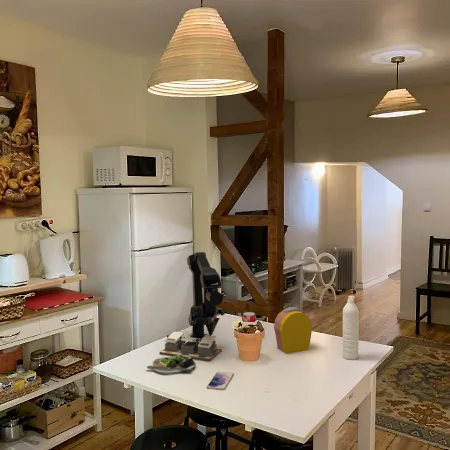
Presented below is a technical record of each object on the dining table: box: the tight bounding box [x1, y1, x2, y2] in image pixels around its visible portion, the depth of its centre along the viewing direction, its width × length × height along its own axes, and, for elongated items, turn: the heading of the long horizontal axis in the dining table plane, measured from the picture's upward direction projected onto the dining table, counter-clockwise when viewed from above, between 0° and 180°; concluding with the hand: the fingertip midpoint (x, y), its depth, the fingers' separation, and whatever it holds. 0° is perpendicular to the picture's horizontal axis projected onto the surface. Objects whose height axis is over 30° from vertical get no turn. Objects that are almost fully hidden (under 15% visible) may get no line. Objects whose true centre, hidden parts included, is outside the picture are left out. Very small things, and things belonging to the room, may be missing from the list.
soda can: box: [241, 311, 258, 322], centre depth 222 cm, size 7×7×12 cm
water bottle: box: [341, 295, 360, 361], centre depth 196 cm, size 9×6×25 cm
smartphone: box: [206, 371, 235, 391], centre depth 174 cm, size 7×1×15 cm
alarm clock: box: [273, 306, 313, 355], centre depth 206 cm, size 15×8×18 cm, turn 111°
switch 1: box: [164, 331, 185, 343], centre depth 206 cm, size 8×5×1 cm, turn 157°
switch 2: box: [198, 334, 217, 349], centre depth 200 cm, size 8×5×1 cm, turn 157°
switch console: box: [158, 334, 223, 362], centre depth 203 cm, size 13×24×7 cm, turn 67°
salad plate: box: [146, 355, 197, 375], centre depth 188 cm, size 19×18×5 cm
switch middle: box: [181, 336, 200, 342], centre depth 203 cm, size 8×5×1 cm, turn 157°
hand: (210, 335), depth 203 cm, fingers closed
